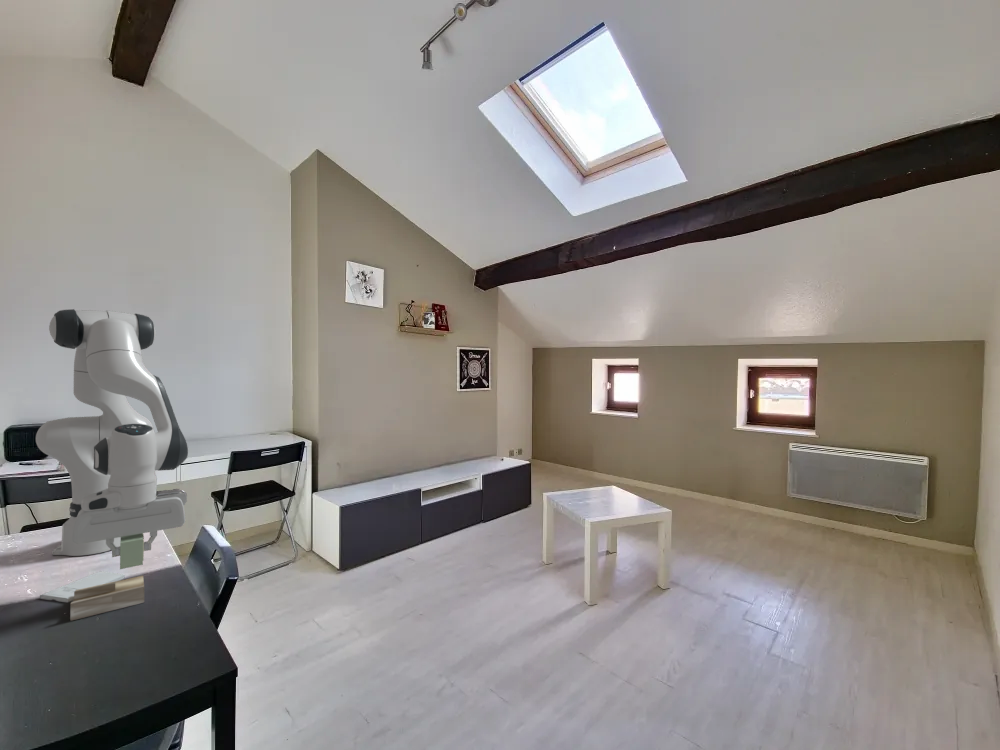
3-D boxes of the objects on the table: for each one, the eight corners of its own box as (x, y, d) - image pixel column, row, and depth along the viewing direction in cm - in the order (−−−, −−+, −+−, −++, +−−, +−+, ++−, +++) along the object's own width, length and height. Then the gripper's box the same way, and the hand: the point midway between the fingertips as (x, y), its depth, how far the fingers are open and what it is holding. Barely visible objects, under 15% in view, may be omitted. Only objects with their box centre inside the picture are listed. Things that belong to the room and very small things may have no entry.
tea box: (120, 569, 100) (120, 543, 100) (120, 559, 105) (120, 534, 105) (143, 564, 102) (143, 538, 102) (142, 554, 107) (143, 530, 107)
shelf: (75, 598, 101) (75, 583, 101) (143, 583, 109) (143, 568, 109) (70, 621, 92) (70, 603, 92) (144, 602, 100) (144, 586, 100)
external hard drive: (124, 580, 112) (67, 605, 99) (99, 577, 113) (39, 601, 101) (124, 574, 112) (67, 597, 99) (99, 570, 113) (39, 593, 101)
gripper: (185, 484, 113) (184, 538, 113) (74, 498, 99) (73, 559, 100) (188, 490, 108) (187, 546, 108) (71, 505, 94) (71, 569, 95)
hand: (131, 552), depth 104 cm, fingers closed on tea box, 4 cm apart
